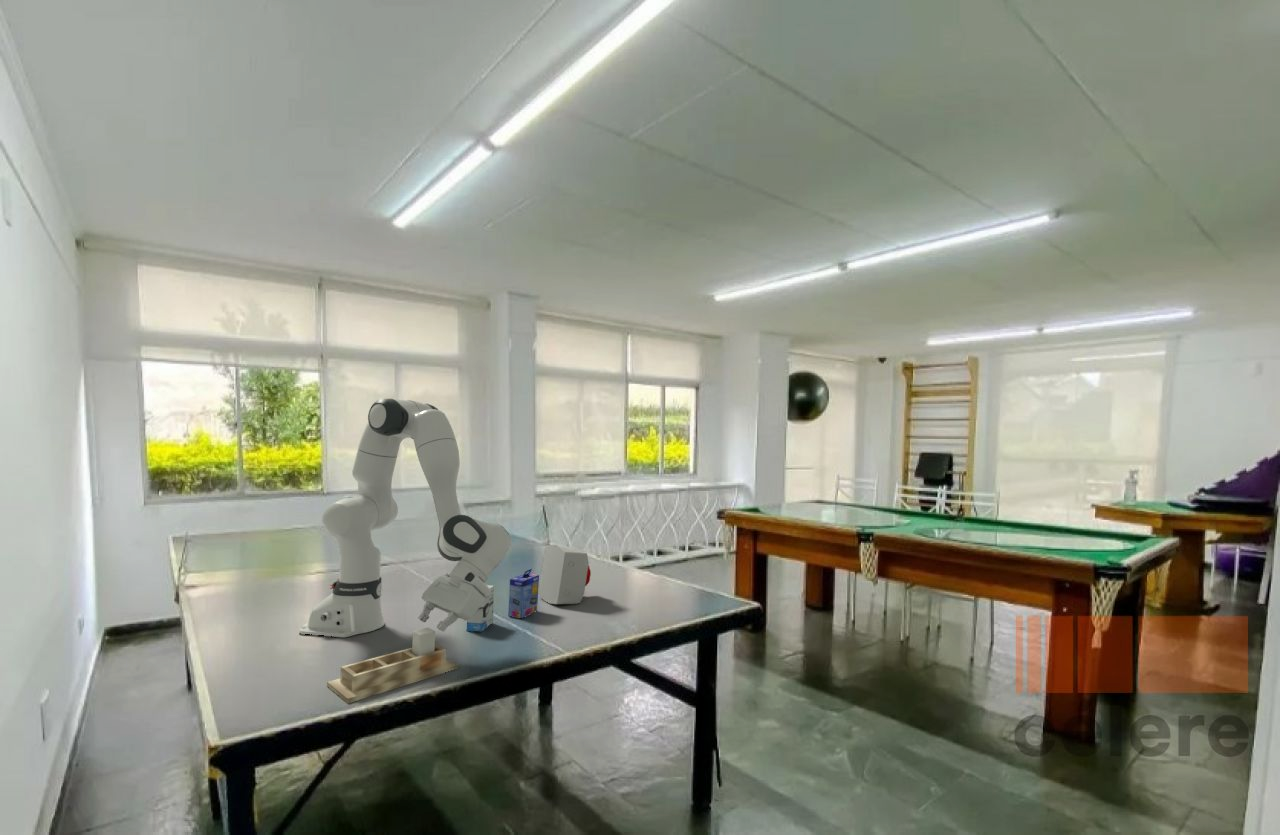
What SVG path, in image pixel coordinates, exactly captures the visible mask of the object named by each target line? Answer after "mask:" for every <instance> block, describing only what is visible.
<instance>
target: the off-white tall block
mask: <svg viewBox="0 0 1280 835" xmlns="http://www.w3.org/2000/svg"><path fill="white" fill-rule="evenodd" d="M435 638H436V630H434V629H432V628H430V627H425V628H421V629H416V630H413V631H412V645H411V646H412V647H411V648H412V654H413V655H415V656H417V657H418V656H421V655H425V654H428V653H432V652H434V649H435V645H436V639H435Z"/></svg>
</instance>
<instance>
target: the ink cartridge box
mask: <svg viewBox="0 0 1280 835" xmlns="http://www.w3.org/2000/svg"><path fill="white" fill-rule="evenodd" d="M532 570H533V569H532V568H530V569H528V570H525V571H524V573H521V574H520V575H516V576H514V577H511V578H510V579H509V594H508V610H507V612H508V615H507V616H508V617H510V616H512V617H511V618H514V617H517V618H516V619H518V618H522V619H524V618H526V617H528V616H530V615H532V614H531V613H533V612H535V611H537V612H538V605H539V604H538V601H539V594H538V592H539V586H540V575H539V574H537V573H536V574H535V573H531V572H532ZM535 613H536V612H535ZM529 614H530V615H529ZM533 614H534V613H533ZM527 615H528V616H527ZM525 616H526V617H525ZM523 617H524V618H523Z"/></svg>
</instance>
